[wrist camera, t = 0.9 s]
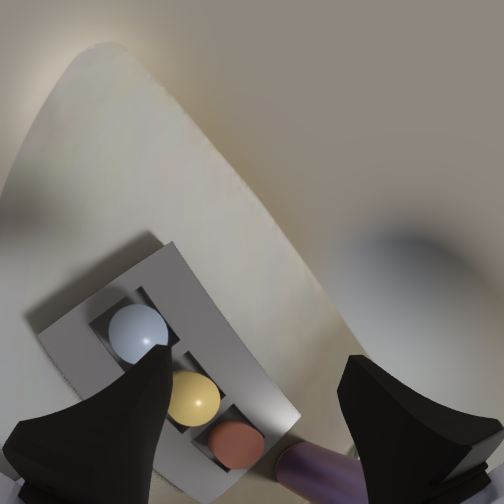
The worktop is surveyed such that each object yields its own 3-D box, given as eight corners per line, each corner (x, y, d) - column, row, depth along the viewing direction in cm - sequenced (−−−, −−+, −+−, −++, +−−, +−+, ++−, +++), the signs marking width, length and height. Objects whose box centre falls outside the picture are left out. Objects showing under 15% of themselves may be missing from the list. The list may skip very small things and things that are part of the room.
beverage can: (266, 456, 23) (386, 514, 11) (310, 431, 27) (430, 463, 14) (278, 492, 23) (384, 548, 10) (318, 467, 26) (425, 503, 13)
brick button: (227, 466, 19) (239, 477, 18) (198, 441, 19) (208, 451, 17) (258, 437, 22) (272, 445, 20) (232, 410, 21) (245, 418, 19)
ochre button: (182, 426, 19) (191, 436, 17) (148, 391, 18) (154, 398, 16) (218, 395, 21) (230, 401, 19) (187, 359, 20) (197, 363, 19)
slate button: (131, 370, 18) (135, 376, 16) (97, 325, 18) (97, 327, 16) (171, 338, 20) (179, 340, 18) (140, 295, 20) (144, 292, 18)
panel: (198, 496, 19) (206, 506, 17) (41, 334, 17) (36, 336, 15) (288, 411, 26) (301, 415, 24) (166, 247, 24) (172, 241, 22)
